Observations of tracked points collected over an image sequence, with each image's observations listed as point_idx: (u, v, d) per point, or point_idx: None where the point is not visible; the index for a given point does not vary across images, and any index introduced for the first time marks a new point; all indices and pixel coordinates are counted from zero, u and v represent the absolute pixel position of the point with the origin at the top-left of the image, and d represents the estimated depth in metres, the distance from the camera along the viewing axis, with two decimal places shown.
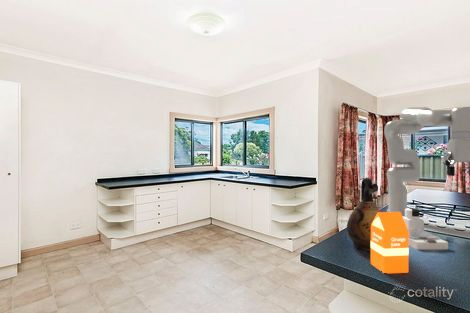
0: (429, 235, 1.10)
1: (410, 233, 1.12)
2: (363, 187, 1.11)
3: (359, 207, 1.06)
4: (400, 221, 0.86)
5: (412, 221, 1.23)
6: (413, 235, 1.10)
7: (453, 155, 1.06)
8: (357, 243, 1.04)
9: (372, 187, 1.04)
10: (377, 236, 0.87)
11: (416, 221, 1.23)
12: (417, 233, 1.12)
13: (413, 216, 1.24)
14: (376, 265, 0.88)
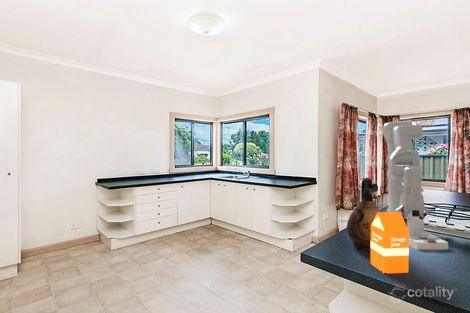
0: (429, 235, 1.10)
1: (410, 233, 1.12)
2: (363, 187, 1.11)
3: (359, 207, 1.06)
4: (400, 221, 0.86)
5: (412, 221, 1.23)
6: (413, 235, 1.10)
7: (404, 208, 1.25)
8: (357, 243, 1.04)
9: (372, 187, 1.04)
10: (377, 236, 0.87)
11: (416, 221, 1.23)
12: (417, 233, 1.12)
13: (413, 216, 1.24)
14: (376, 265, 0.88)
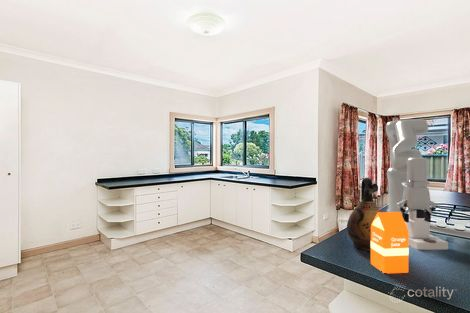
0: (429, 238, 1.10)
1: (410, 236, 1.12)
2: (363, 187, 1.11)
3: (359, 207, 1.06)
4: (400, 221, 0.86)
5: (417, 223, 1.10)
6: (413, 238, 1.10)
7: (407, 203, 1.12)
8: (357, 243, 1.04)
9: (372, 187, 1.04)
10: (377, 236, 0.87)
11: (421, 223, 1.10)
12: None
13: (418, 218, 1.11)
14: (376, 265, 0.88)
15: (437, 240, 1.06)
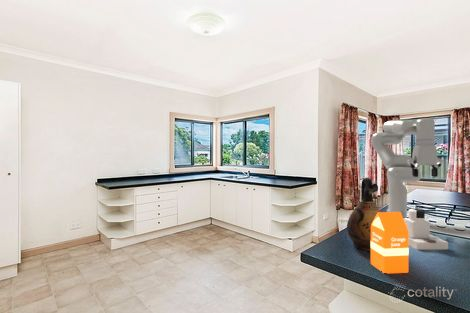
0: (429, 238, 1.10)
1: (410, 236, 1.12)
2: (363, 187, 1.11)
3: (359, 207, 1.06)
4: (400, 221, 0.86)
5: (417, 223, 1.10)
6: (413, 238, 1.10)
7: (417, 159, 1.25)
8: (357, 243, 1.04)
9: (372, 187, 1.04)
10: (377, 236, 0.87)
11: (421, 223, 1.10)
12: None
13: (418, 218, 1.11)
14: (376, 265, 0.88)
15: (437, 240, 1.06)
